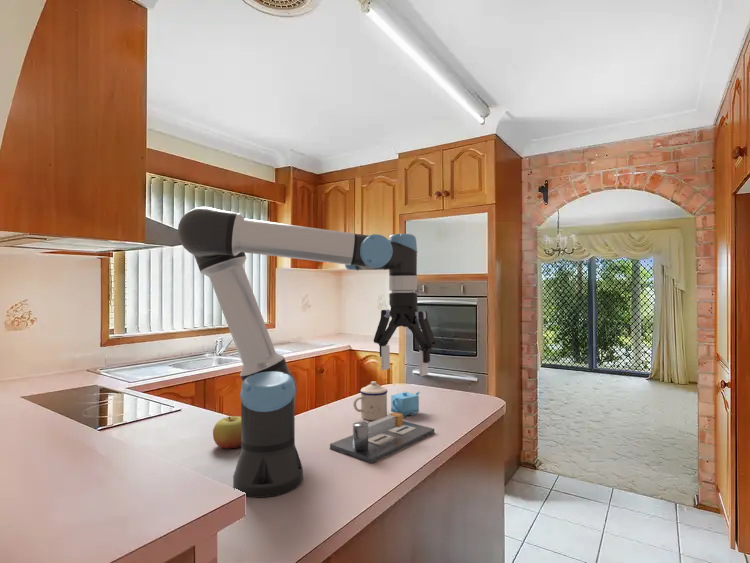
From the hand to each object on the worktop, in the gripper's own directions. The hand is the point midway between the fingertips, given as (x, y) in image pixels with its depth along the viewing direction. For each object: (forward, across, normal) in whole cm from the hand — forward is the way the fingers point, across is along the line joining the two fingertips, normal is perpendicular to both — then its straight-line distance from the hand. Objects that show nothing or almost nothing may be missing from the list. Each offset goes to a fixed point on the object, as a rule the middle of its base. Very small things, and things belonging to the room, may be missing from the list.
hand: (403, 372), depth 115 cm
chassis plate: (+20, +8, -1) cm, 22 cm away
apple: (+21, +38, +28) cm, 52 cm away
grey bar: (+19, +7, +3) cm, 20 cm away
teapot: (+21, +18, -25) cm, 37 cm away
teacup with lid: (+21, +25, -14) cm, 35 cm away
